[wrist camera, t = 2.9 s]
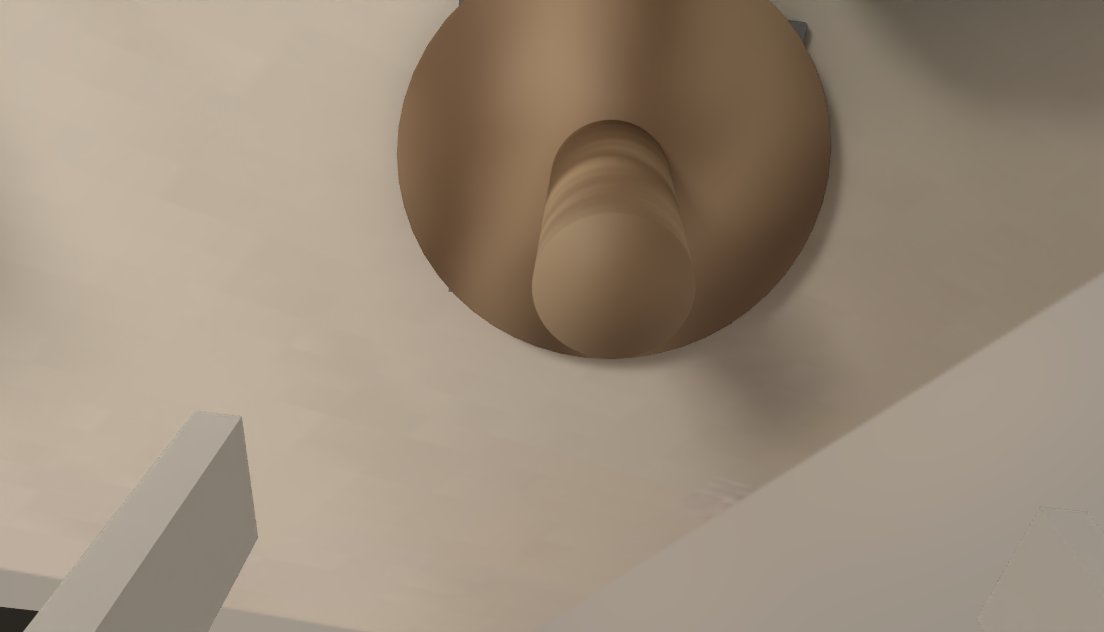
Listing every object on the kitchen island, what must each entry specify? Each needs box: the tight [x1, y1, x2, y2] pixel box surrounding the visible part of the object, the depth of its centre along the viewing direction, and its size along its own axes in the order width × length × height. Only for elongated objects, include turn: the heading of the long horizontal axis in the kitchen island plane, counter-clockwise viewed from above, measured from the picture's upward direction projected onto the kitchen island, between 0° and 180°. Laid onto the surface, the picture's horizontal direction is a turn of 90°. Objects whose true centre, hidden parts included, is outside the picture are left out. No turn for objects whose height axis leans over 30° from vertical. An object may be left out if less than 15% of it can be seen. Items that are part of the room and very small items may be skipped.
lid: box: [397, 0, 831, 359], centre depth 25 cm, size 16×16×10 cm
